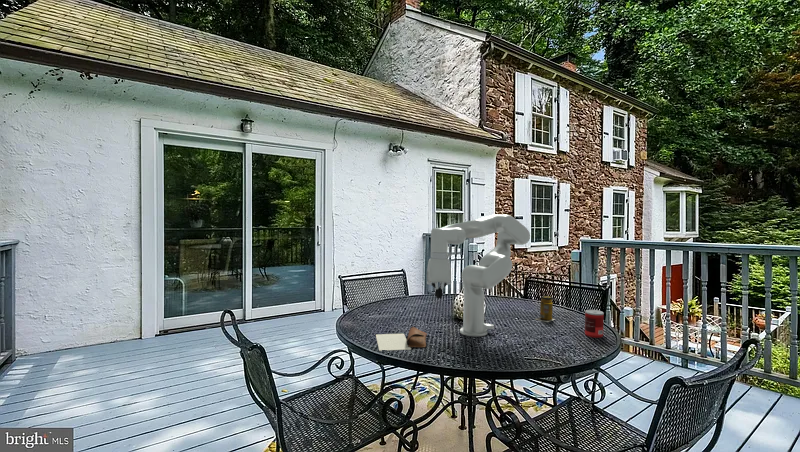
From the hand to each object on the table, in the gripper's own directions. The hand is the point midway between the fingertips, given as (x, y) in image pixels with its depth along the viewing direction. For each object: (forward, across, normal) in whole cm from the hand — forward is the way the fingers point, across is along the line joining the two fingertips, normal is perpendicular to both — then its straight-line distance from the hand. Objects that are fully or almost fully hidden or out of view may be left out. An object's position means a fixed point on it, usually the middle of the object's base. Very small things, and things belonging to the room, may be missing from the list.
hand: (438, 297), depth 173 cm
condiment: (+19, -64, -26) cm, 71 cm away
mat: (+19, +20, 0) cm, 28 cm away
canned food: (+18, -73, +2) cm, 75 cm away
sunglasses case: (+19, +9, 0) cm, 21 cm away
